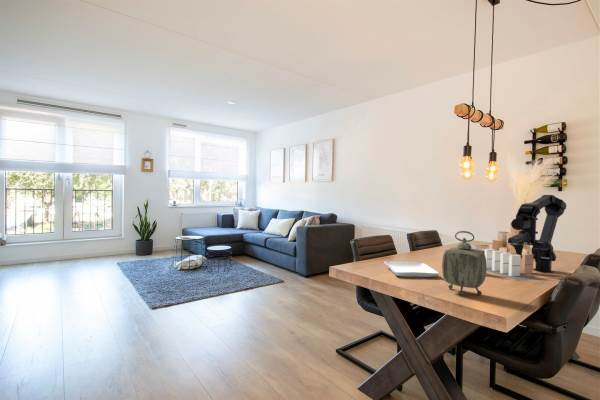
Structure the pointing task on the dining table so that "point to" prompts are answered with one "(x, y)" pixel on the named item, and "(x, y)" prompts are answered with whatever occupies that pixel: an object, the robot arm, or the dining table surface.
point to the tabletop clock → (464, 266)
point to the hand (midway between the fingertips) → (527, 260)
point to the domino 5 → (527, 263)
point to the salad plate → (411, 269)
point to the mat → (521, 277)
